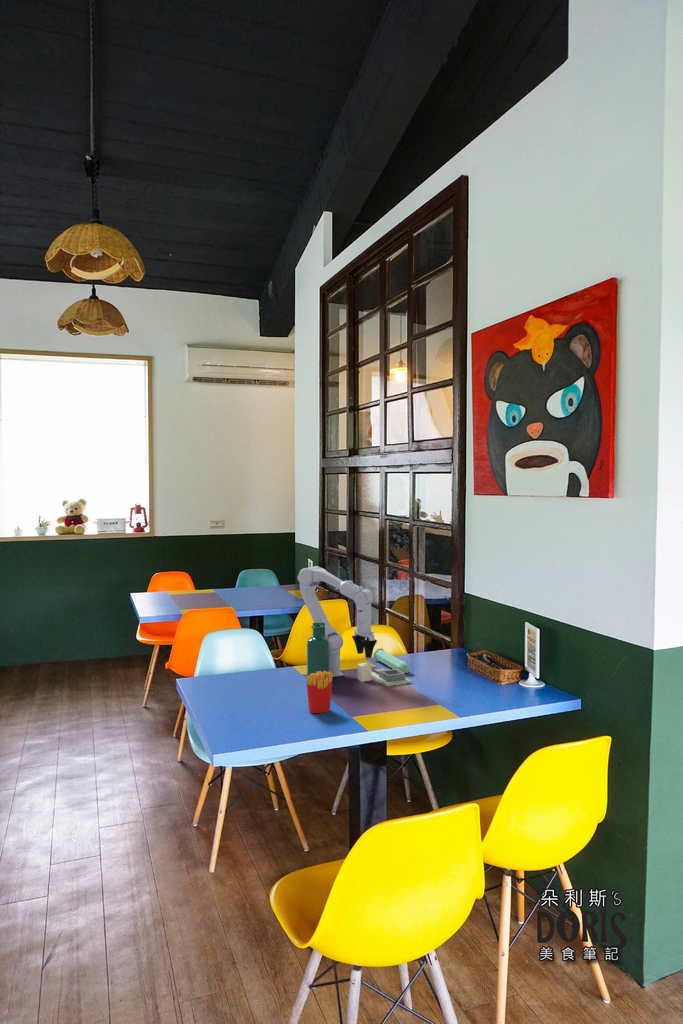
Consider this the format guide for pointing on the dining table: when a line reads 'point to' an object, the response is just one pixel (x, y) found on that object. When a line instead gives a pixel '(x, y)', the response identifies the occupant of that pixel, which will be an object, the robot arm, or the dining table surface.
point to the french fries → (319, 691)
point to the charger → (364, 672)
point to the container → (391, 660)
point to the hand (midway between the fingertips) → (364, 655)
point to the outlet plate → (389, 676)
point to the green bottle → (318, 650)
